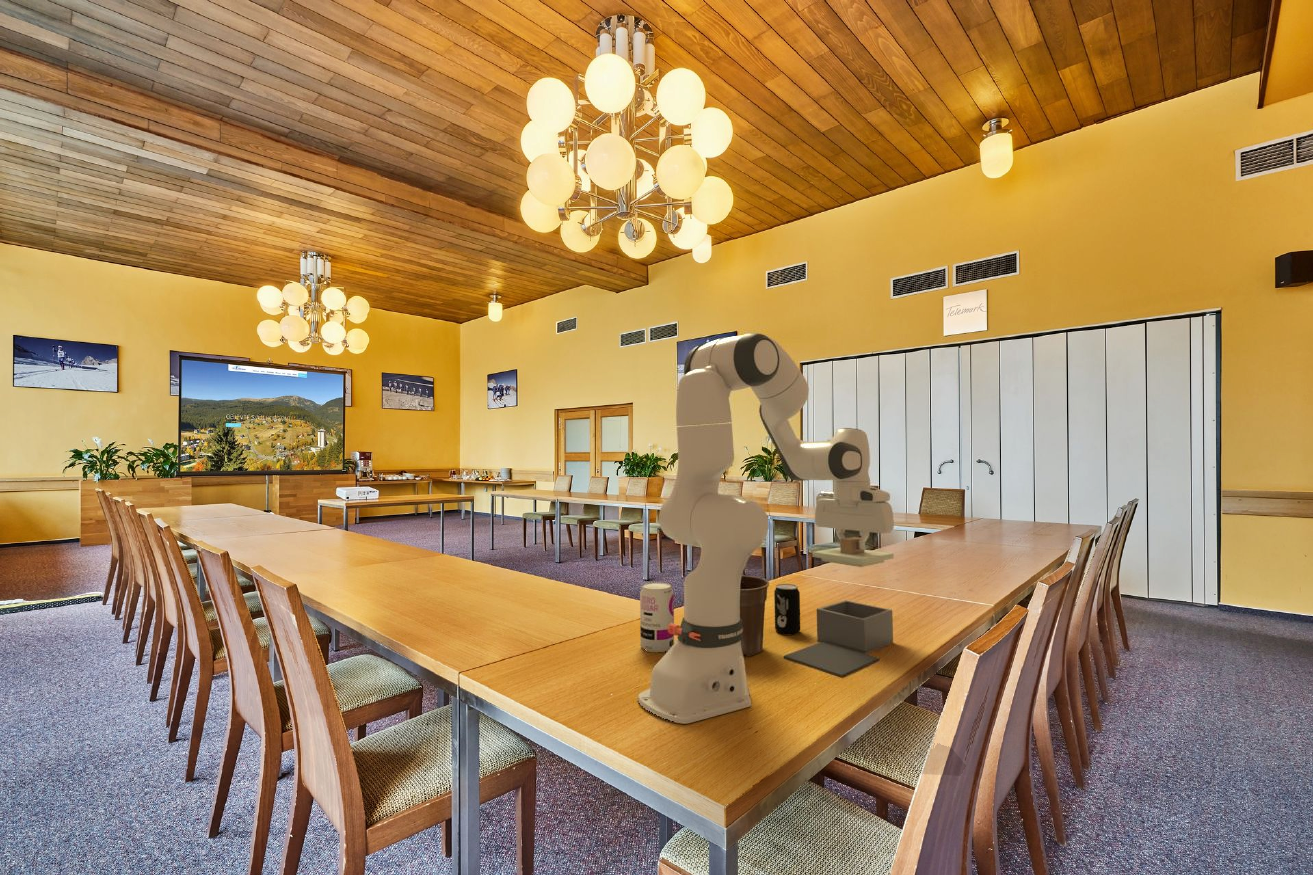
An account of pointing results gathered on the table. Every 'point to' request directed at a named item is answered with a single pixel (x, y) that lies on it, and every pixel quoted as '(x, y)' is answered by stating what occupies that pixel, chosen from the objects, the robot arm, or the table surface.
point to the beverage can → (787, 609)
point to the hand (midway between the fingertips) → (852, 548)
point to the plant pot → (752, 613)
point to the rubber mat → (831, 659)
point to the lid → (852, 554)
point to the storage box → (855, 626)
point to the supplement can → (656, 616)
